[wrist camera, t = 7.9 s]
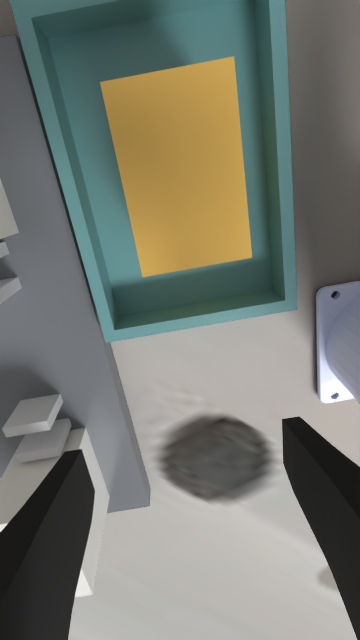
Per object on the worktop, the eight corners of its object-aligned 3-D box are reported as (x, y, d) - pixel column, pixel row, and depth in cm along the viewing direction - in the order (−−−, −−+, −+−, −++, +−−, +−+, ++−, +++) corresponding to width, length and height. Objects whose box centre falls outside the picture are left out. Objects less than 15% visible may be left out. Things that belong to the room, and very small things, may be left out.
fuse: (85, 427, 21) (57, 515, 16) (109, 496, 23) (92, 594, 18) (22, 438, 21) (-27, 528, 16) (52, 505, 23) (18, 606, 18)
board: (28, 47, 15) (-16, 4, 11) (150, 488, 25) (148, 540, 22) (-167, 85, 15) (-272, 54, 12) (32, 507, 25) (9, 563, 22)
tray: (261, -12, 15) (283, -55, 12) (280, 292, 20) (297, 309, 17) (36, 32, 15) (9, 0, 12) (113, 322, 20) (105, 342, 18)
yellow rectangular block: (208, 101, 15) (234, 56, 10) (224, 234, 18) (252, 257, 12) (122, 118, 16) (100, 81, 10) (149, 247, 18) (142, 277, 12)
